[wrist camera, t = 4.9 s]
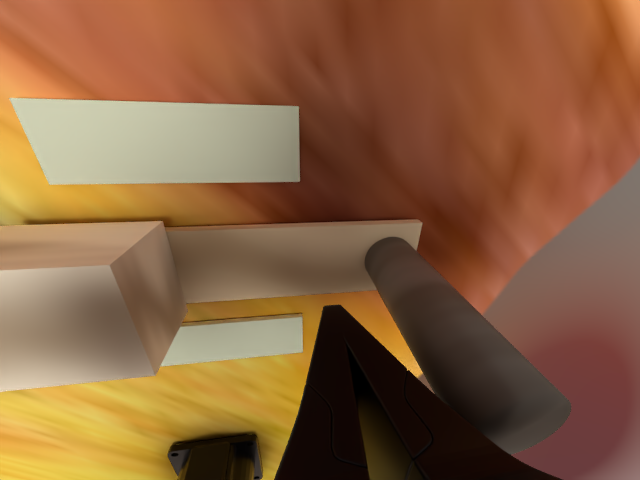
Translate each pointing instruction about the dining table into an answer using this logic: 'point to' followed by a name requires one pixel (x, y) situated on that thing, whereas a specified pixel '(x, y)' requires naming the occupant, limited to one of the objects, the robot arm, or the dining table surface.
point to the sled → (249, 283)
